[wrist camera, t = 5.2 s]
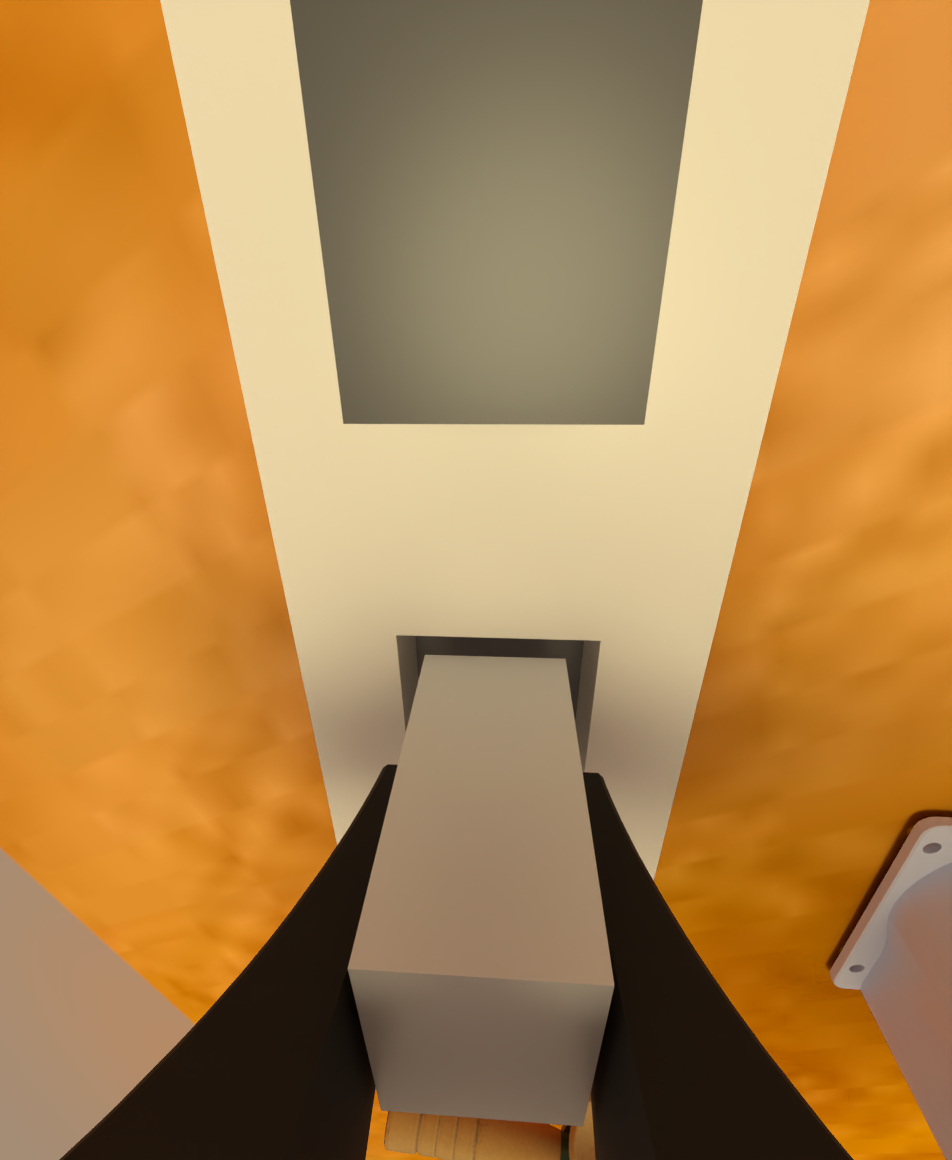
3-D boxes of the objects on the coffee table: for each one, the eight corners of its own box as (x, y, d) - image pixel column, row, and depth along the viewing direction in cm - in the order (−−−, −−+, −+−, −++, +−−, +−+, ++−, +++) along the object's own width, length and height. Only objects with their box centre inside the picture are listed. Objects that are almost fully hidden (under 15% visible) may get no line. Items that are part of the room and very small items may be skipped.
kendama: (413, 1077, 31) (733, 1166, 28) (373, 1231, 25) (772, 1366, 22) (414, 985, 29) (764, 1071, 26) (370, 1131, 23) (817, 1266, 20)
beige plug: (553, 789, 13) (582, 1126, 8) (433, 784, 13) (381, 1110, 8) (565, 658, 11) (614, 984, 6) (424, 654, 11) (347, 968, 6)
